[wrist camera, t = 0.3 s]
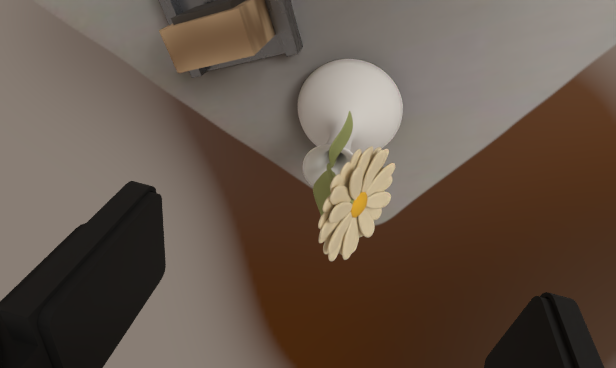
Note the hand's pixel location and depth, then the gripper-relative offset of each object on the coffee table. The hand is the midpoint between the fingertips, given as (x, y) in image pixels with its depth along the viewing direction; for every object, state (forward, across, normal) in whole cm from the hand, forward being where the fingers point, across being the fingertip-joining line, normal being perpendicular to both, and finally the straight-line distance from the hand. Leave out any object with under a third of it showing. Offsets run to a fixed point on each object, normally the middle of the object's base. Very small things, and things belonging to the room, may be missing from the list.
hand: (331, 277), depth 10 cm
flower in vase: (+35, +1, +10) cm, 37 cm away
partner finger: (+34, +15, +5) cm, 38 cm away
